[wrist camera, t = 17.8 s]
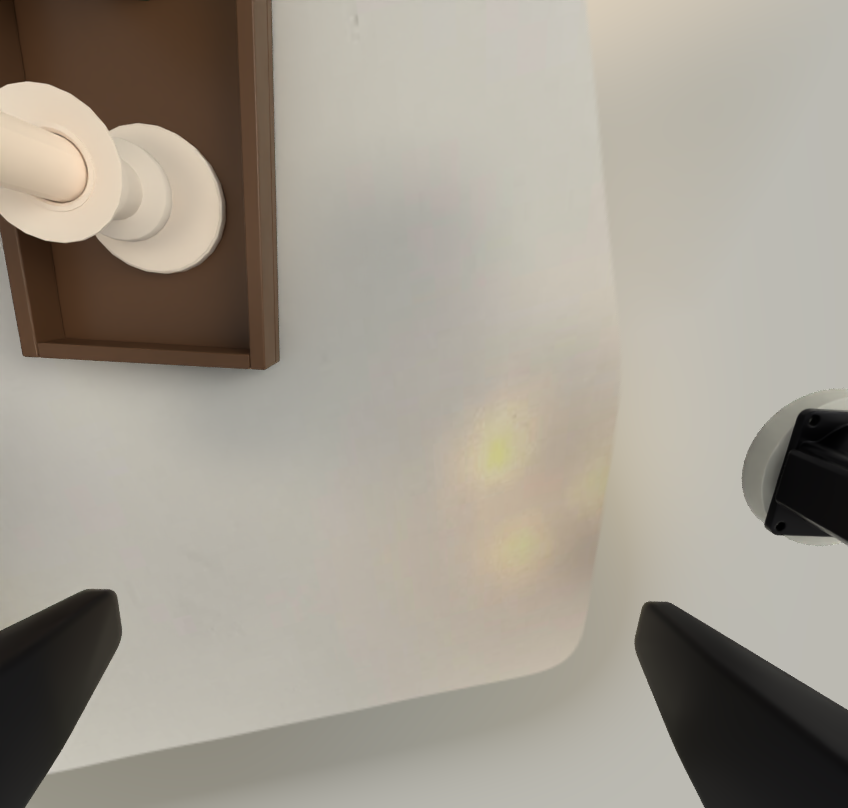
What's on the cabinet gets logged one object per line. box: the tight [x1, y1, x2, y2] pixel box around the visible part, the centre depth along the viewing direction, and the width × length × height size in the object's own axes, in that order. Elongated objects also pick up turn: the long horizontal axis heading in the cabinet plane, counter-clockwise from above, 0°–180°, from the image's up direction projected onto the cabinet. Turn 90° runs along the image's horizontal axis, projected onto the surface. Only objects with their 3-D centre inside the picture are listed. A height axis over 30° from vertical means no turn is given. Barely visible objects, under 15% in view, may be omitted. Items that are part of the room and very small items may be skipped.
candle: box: [0, 81, 226, 274], centre depth 12 cm, size 5×5×10 cm
